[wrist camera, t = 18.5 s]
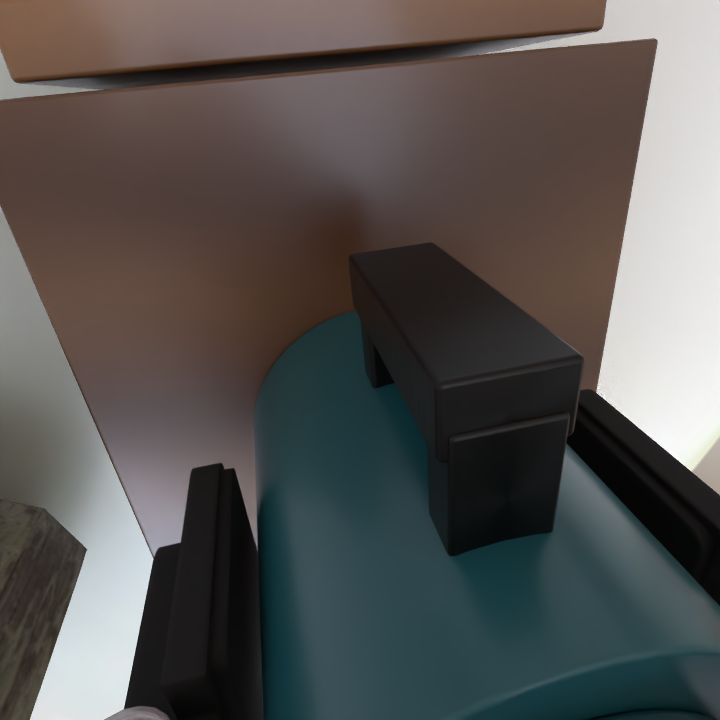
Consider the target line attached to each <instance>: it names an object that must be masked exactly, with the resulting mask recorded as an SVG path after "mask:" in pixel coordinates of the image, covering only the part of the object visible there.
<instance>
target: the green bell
mask: <svg viewBox="0 0 720 720" xmlns="http://www.w3.org/2000/svg"><path fill="white" fill-rule="evenodd" d="M86 550H87V549H86V548H85V547H84V546H83V545H82V544H81V543H80V542H79V541H78V540H77V539H76V538H75V537H74V536H73V535H71V534H70V533H69V532H68V531H67V530H66V529H65V528H64V527H63V526H62V525H61V524H60V523H59V522H58V521H57V520H56V519H55V518H54V517H53V516H52V515H50V514H49V513H48V512H47V511H46V510H45V509H43V508H38V507H33V506H28V505H23V504H18V503H13V502H8V501H2V500H0V720H30V717H31V714H32V711H33V708H34V705H35V702H36V699H37V696H38V694H39V691H40V688H41V685H42V682H43V679H44V676H45V673H46V670H47V667H48V664H49V661H50V658H51V655H52V652H53V650H54V647H55V644H56V641H57V638H58V635H59V632H60V629H61V626H62V623H63V620H64V617H65V614H66V611H67V608H68V605H69V603H70V600H71V597H72V594H73V591H74V588H75V585H76V582H77V579H78V576H79V573H80V570H81V567H82V563H83V560H84V557H85V554H86Z"/></svg>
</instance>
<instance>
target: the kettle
mask: <svg viewBox="0 0 720 720" xmlns="http://www.w3.org/2000/svg"><path fill="white" fill-rule="evenodd" d="M348 260H349V269H350V279H351V289H352V299H353V306H354V308H355V310H356V311H352V312H348V313H345V314H342V315H339V316H337V317H334V318H331V319H329V320H327V321H325V322H323V323H321V324H319V325H317V326H316V327H314V328H313V329H311V330H310V331H308V332H307V333H305V334H304V335H302V336H301V337H300V338H299V339H297V340H296V341H295V342H294V343H293V344H292V345H290V346H289V347H288V348H287V349H286V350H285V352H284V353H283V354H282V355H281V356H280V357H279V358H278V359H277V361H276V362H275V364H274V365H273V366H272V368H271V369H270V371H269V372H268V374H267V376H266V378H265V380H264V382H263V384H262V386H261V388H260V391H259V394H258V397H257V400H256V406H255V412H254V452H255V482H256V512H257V543H258V573H259V603H260V633H261V663H262V694H263V720H720V606H719V605H718V604H717V603H716V602H715V600H714V599H713V598H712V597H711V596H710V595H709V594H708V593H707V592H706V591H705V590H704V589H703V588H702V587H701V586H700V585H699V583H698V582H697V581H696V580H695V579H694V578H693V577H692V576H691V575H690V574H689V573H688V572H687V571H686V570H685V569H684V568H683V566H682V565H681V564H680V563H679V562H678V561H677V560H676V559H675V558H674V557H673V556H672V555H671V554H670V553H669V552H668V551H667V549H666V548H665V547H664V546H663V545H662V544H661V543H660V542H659V541H658V540H657V539H656V538H655V537H654V536H653V535H652V534H651V532H650V531H649V530H648V529H647V528H646V527H645V526H644V525H643V524H642V523H641V522H640V521H639V520H638V519H637V518H636V516H635V515H634V514H633V513H632V512H631V511H630V510H629V509H628V508H627V507H626V506H625V505H624V504H623V503H622V502H621V501H620V499H619V498H618V497H617V496H616V495H615V494H614V493H613V492H612V491H611V490H610V489H609V488H608V487H607V486H606V485H605V484H604V482H603V481H602V480H601V479H600V478H599V477H598V476H597V475H596V474H595V473H594V472H593V471H592V470H591V469H590V468H589V467H588V465H587V464H586V463H585V462H584V461H583V460H582V459H581V458H580V457H579V456H578V455H577V454H576V453H575V452H574V451H573V450H572V448H571V447H570V446H569V445H568V444H567V443H566V442H567V436H569V435H571V434H572V433H573V431H574V427H575V420H576V414H577V408H578V401H579V395H580V389H581V382H582V376H583V370H584V363H585V361H584V357H583V355H582V354H581V353H580V352H578V351H577V350H576V349H574V348H573V347H572V346H570V345H569V344H568V343H566V342H565V341H564V340H562V339H561V338H560V337H558V336H557V335H556V334H554V333H553V332H552V331H550V330H549V329H548V328H546V327H545V326H544V325H542V324H541V323H540V322H538V321H537V320H536V319H534V318H533V317H532V316H530V315H529V314H528V313H526V312H525V311H524V310H522V309H521V308H520V307H518V306H517V305H516V304H514V303H513V302H512V301H511V300H509V299H508V298H507V297H505V296H504V295H503V294H501V293H500V292H499V291H497V290H496V289H495V288H493V287H492V286H491V285H489V284H488V283H487V282H485V281H484V280H483V279H481V278H480V277H479V276H477V275H476V274H475V273H473V272H472V271H471V270H469V269H468V268H467V267H465V266H464V265H463V264H461V263H460V262H459V261H457V260H456V259H455V258H453V257H452V256H451V255H449V254H448V253H447V252H445V251H444V250H443V249H441V248H440V247H439V246H437V245H436V244H435V243H432V242H430V243H423V244H416V245H410V246H403V247H396V248H390V249H383V250H376V251H369V252H363V253H356V254H352V255H350V256H349V259H348Z"/></svg>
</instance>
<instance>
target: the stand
mask: <svg viewBox="0 0 720 720" xmlns="http://www.w3.org/2000/svg"><path fill="white" fill-rule="evenodd" d="M657 43H658V42H657V40H656V39H654V38H653V39H643V40H632V41H621V42H611V43H600V44H589V45H579V46H568V47H557V48H547V49H536V50H525V51H515V52H504V53H493V54H483V55H472V56H461V57H451V58H440V59H429V60H419V61H408V62H397V63H387V64H376V65H365V66H355V67H344V68H333V69H323V70H312V71H301V72H291V73H280V74H269V75H259V76H248V77H237V78H227V79H216V80H205V81H195V82H184V83H173V84H163V85H152V86H141V87H131V88H120V89H109V90H99V91H88V92H77V93H67V94H56V95H45V96H35V97H24V98H13V99H3V100H0V206H1V208H2V210H3V213H4V215H5V217H6V220H7V222H8V224H9V226H10V229H11V231H12V233H13V236H14V238H15V240H16V243H17V245H18V247H19V250H20V252H21V254H22V256H23V259H24V261H25V263H26V266H27V268H28V270H29V273H30V275H31V277H32V279H33V282H34V284H35V286H36V289H37V291H38V293H39V296H40V298H41V300H42V302H43V305H44V307H45V309H46V312H47V314H48V316H49V319H50V321H51V323H52V326H53V328H54V330H55V332H56V335H57V337H58V339H59V342H60V344H61V346H62V349H63V351H64V353H65V355H66V358H67V360H68V362H69V365H70V367H71V369H72V372H73V374H74V376H75V378H76V381H77V383H78V385H79V388H80V390H81V392H82V395H83V397H84V399H85V402H86V404H87V406H88V408H89V411H90V413H91V415H92V418H93V420H94V422H95V425H96V427H97V429H98V431H99V434H100V436H101V438H102V441H103V443H104V445H105V448H106V450H107V452H108V454H109V457H110V459H111V461H112V464H113V466H114V468H115V471H116V473H117V475H118V478H119V480H120V482H121V484H122V487H123V489H124V491H125V494H126V496H127V498H128V501H129V503H130V505H131V507H132V510H133V512H134V514H135V517H136V519H137V521H138V524H139V526H140V528H141V530H142V533H143V535H144V537H145V540H146V542H147V544H148V547H149V549H150V551H151V554H152V556H153V558H154V556H155V553H156V551H157V549H158V548H159V547H163V546H168V545H172V544H177V543H181V536H182V529H183V523H184V516H185V509H186V502H187V495H188V488H189V481H190V474H191V470H192V469H193V468H197V467H202V466H207V465H212V464H217V463H222V464H223V466H224V468H225V469H230V468H234V469H235V472H236V475H237V479H238V482H239V486H240V490H241V493H242V497H243V500H244V504H245V508H246V511H247V515H248V518H249V522H250V526H251V529H252V533H253V536H254V540H255V544H256V547H257V551H258V543H257V512H256V482H255V452H254V412H255V406H256V400H257V397H258V394H259V391H260V388H261V386H262V384H263V382H264V380H265V378H266V376H267V374H268V372H269V371H270V369H271V368H272V366H273V365H274V364H275V362H276V361H277V359H278V358H279V357H280V356H281V355H282V354H283V353H284V352H285V350H286V349H287V348H288V347H289V346H290V345H292V344H293V343H294V342H295V341H296V340H297V339H299V338H300V337H301V336H302V335H304V334H305V333H307V332H308V331H310V330H311V329H313V328H314V327H316V326H317V325H319V324H321V323H323V322H325V321H327V320H329V319H331V318H334V317H337V316H339V315H342V314H345V313H348V312H352V311H356V310H355V308H354V306H353V299H352V289H351V279H350V269H349V260H348V259H349V256H350V255H352V254H356V253H363V252H369V251H376V250H383V249H390V248H396V247H403V246H410V245H416V244H423V243H430V242H432V243H435V244H436V245H437V246H439V247H440V248H441V249H443V250H444V251H445V252H447V253H448V254H449V255H451V256H452V257H453V258H455V259H456V260H457V261H459V262H460V263H461V264H463V265H464V266H465V267H467V268H468V269H469V270H471V271H472V272H473V273H475V274H476V275H477V276H479V277H480V278H481V279H483V280H484V281H485V282H487V283H488V284H489V285H491V286H492V287H493V288H495V289H496V290H497V291H499V292H500V293H501V294H503V295H504V296H505V297H507V298H508V299H509V300H511V301H512V302H513V303H514V304H516V305H517V306H518V307H520V308H521V309H522V310H524V311H525V312H526V313H528V314H529V315H530V316H532V317H533V318H534V319H536V320H537V321H538V322H540V323H541V324H542V325H544V326H545V327H546V328H548V329H549V330H550V331H552V332H553V333H554V334H556V335H557V336H558V337H560V338H561V339H562V340H564V341H565V342H566V343H568V344H569V345H570V346H572V347H573V348H574V349H576V350H577V351H578V352H580V353H581V354H582V355H583V357H584V361H585V363H584V370H583V376H582V382H581V389H580V390H585V389H591V390H593V391H594V392H596V390H597V384H598V379H599V373H600V367H601V362H602V356H603V350H604V344H605V339H606V333H607V327H608V322H609V316H610V310H611V305H612V299H613V293H614V288H615V282H616V276H617V271H618V265H619V259H620V253H621V248H622V242H623V236H624V231H625V225H626V219H627V214H628V208H629V202H630V197H631V191H632V185H633V179H634V174H635V168H636V162H637V157H638V151H639V145H640V140H641V134H642V128H643V123H644V117H645V111H646V106H647V100H648V94H649V88H650V83H651V77H652V71H653V66H654V60H655V54H656V49H657Z"/></svg>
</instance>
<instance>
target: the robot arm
mask: <svg viewBox="0 0 720 720" xmlns="http://www.w3.org/2000/svg"><path fill="white" fill-rule="evenodd" d="M566 443H567V444H568V445H569V446H570V447H571V448H572V450H573V451H574V452H575V453H576V454H577V455H578V456H579V457H580V458H581V459H582V460H583V461H584V462H585V463H586V464H587V465H588V467H589V468H590V469H591V470H592V471H593V472H594V473H595V474H596V475H597V476H598V477H599V478H600V479H601V480H602V481H603V482H604V484H605V485H606V486H607V487H608V488H609V489H610V490H611V491H612V492H613V493H614V494H615V495H616V496H617V497H618V498H619V499H620V501H621V502H622V503H623V504H624V505H625V506H626V507H627V508H628V509H629V510H630V511H631V512H632V513H633V514H634V515H635V516H636V518H637V519H638V520H639V521H640V522H641V523H642V524H643V525H644V526H645V527H646V528H647V529H648V530H649V531H650V532H651V534H652V535H653V536H654V537H655V538H656V539H657V540H658V541H659V542H660V543H661V544H662V545H663V546H664V547H665V548H666V549H667V551H668V552H669V553H670V554H671V555H672V556H673V557H674V558H675V559H676V560H677V561H678V562H679V563H680V564H681V565H682V566H683V568H684V569H685V570H686V571H687V572H688V573H689V574H690V575H691V576H692V577H693V578H694V579H695V580H696V581H697V582H698V583H699V585H700V586H701V587H702V588H703V589H704V590H705V591H706V592H707V593H708V594H709V595H710V596H711V597H712V598H713V599H714V600H715V602H716V603H717V604H718V605H719V606H720V495H719V494H717V493H716V492H715V491H714V490H713V489H711V488H710V487H709V486H708V485H707V484H705V483H704V482H703V481H702V480H701V479H699V478H698V477H697V476H696V475H695V474H693V473H692V472H691V471H690V470H689V469H687V468H686V467H685V466H684V465H683V464H681V463H680V462H679V461H678V460H677V459H675V458H674V457H673V456H672V455H671V454H669V453H668V452H667V451H666V450H664V449H663V448H662V447H661V446H660V445H658V444H657V443H656V442H655V441H654V440H652V439H651V438H650V437H649V436H648V435H646V434H645V433H644V432H643V431H642V430H640V429H639V428H638V427H637V426H636V425H634V424H633V423H632V422H631V421H630V420H628V419H627V418H626V417H625V416H624V415H622V414H621V413H620V412H619V411H618V410H616V409H615V408H614V407H613V406H611V405H610V404H609V403H608V402H607V401H605V400H604V399H603V398H602V397H601V396H599V395H598V394H597V393H596V392H594V391H593V390H591V389H585V390H580V395H579V401H578V408H577V414H576V420H575V427H574V431H573V433H572V434H571V435H569V436H567V442H566ZM105 720H263V694H262V663H261V633H260V603H259V573H258V551H257V547H256V544H255V540H254V536H253V533H252V529H251V526H250V522H249V518H248V515H247V511H246V508H245V504H244V500H243V497H242V493H241V490H240V486H239V482H238V479H237V475H236V472H235V469H234V468H230V469H225V468H224V466H223V464H222V463H217V464H212V465H207V466H202V467H197V468H193V469H192V470H191V474H190V481H189V488H188V495H187V502H186V509H185V516H184V523H183V529H182V536H181V543H177V544H172V545H168V546H163V547H159V548H158V549H157V551H156V553H155V556H154V560H153V565H152V570H151V575H150V580H149V585H148V590H147V595H146V600H145V606H144V611H143V616H142V621H141V626H140V631H139V636H138V641H137V646H136V651H135V656H134V661H133V666H132V671H131V676H130V682H129V687H128V692H127V697H126V702H125V707H124V710H122V711H120V712H118V713H116V714H114V715H112V716H110V717H108V718H106V719H105Z"/></svg>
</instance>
